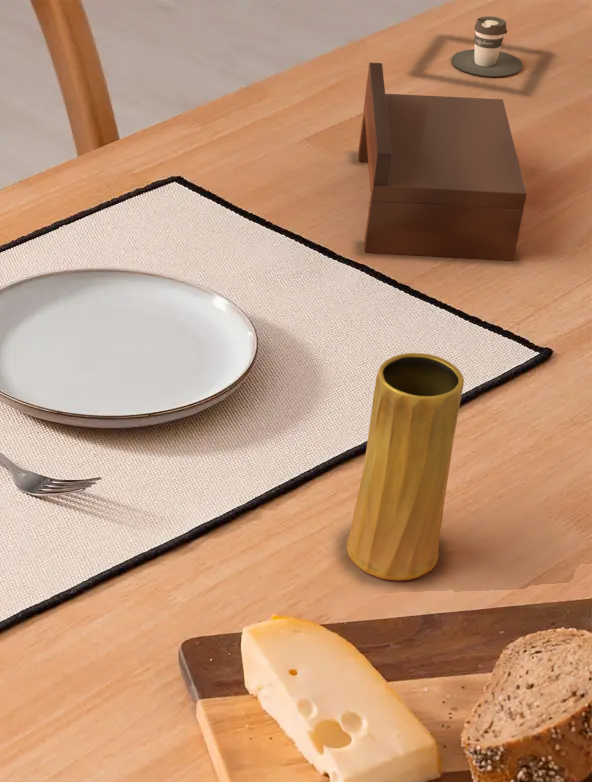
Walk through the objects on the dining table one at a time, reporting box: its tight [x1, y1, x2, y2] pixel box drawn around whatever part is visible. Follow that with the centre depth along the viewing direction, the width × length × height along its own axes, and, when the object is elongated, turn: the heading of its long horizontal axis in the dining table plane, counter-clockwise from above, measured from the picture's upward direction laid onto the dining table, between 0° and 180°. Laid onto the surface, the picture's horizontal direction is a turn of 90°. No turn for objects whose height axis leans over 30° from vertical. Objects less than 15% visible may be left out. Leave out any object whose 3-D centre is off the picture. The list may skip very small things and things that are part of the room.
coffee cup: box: [450, 15, 524, 78], centre depth 170 cm, size 12×12×5 cm
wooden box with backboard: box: [357, 62, 527, 262], centre depth 142 cm, size 13×20×10 cm, turn 174°
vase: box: [346, 352, 465, 581], centre depth 100 cm, size 6×6×14 cm
